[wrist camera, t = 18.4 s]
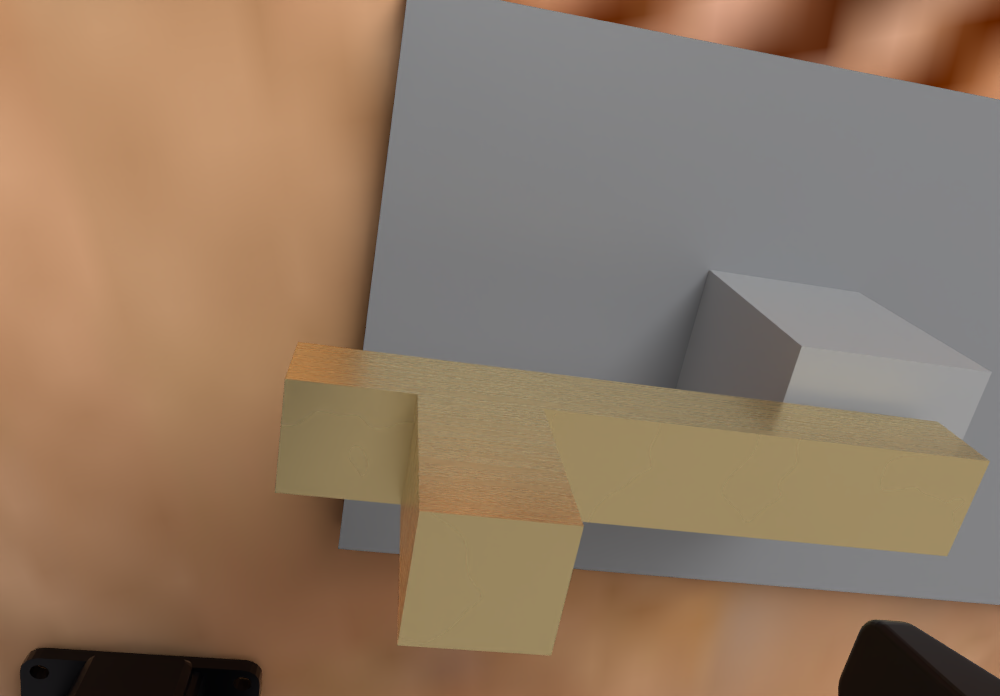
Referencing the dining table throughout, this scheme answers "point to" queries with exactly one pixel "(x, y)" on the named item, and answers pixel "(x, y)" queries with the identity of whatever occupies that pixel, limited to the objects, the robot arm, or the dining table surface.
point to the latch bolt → (591, 477)
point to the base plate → (696, 253)
